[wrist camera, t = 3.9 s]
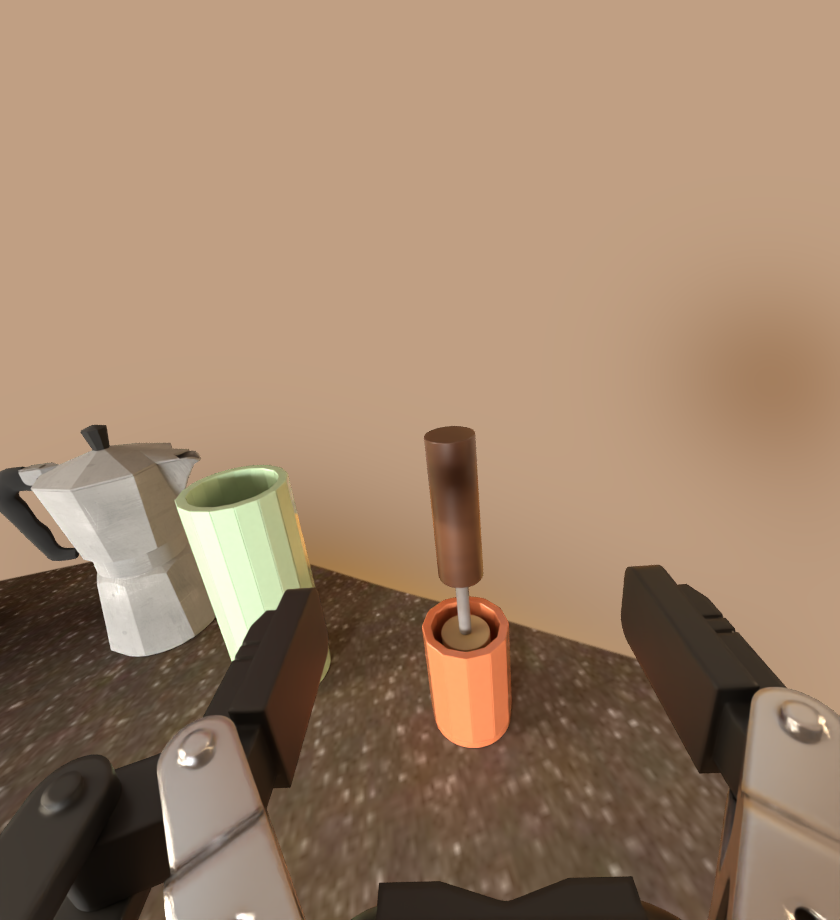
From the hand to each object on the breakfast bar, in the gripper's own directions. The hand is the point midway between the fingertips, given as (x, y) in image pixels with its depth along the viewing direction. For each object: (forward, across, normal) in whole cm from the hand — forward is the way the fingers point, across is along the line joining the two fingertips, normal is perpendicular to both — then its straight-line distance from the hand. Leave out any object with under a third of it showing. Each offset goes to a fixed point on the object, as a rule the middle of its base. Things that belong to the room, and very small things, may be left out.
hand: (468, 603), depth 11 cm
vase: (+14, +13, +17) cm, 26 cm away
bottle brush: (+10, 0, +17) cm, 20 cm away
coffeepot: (+20, +27, +18) cm, 38 cm away
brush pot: (+10, 0, +17) cm, 20 cm away
